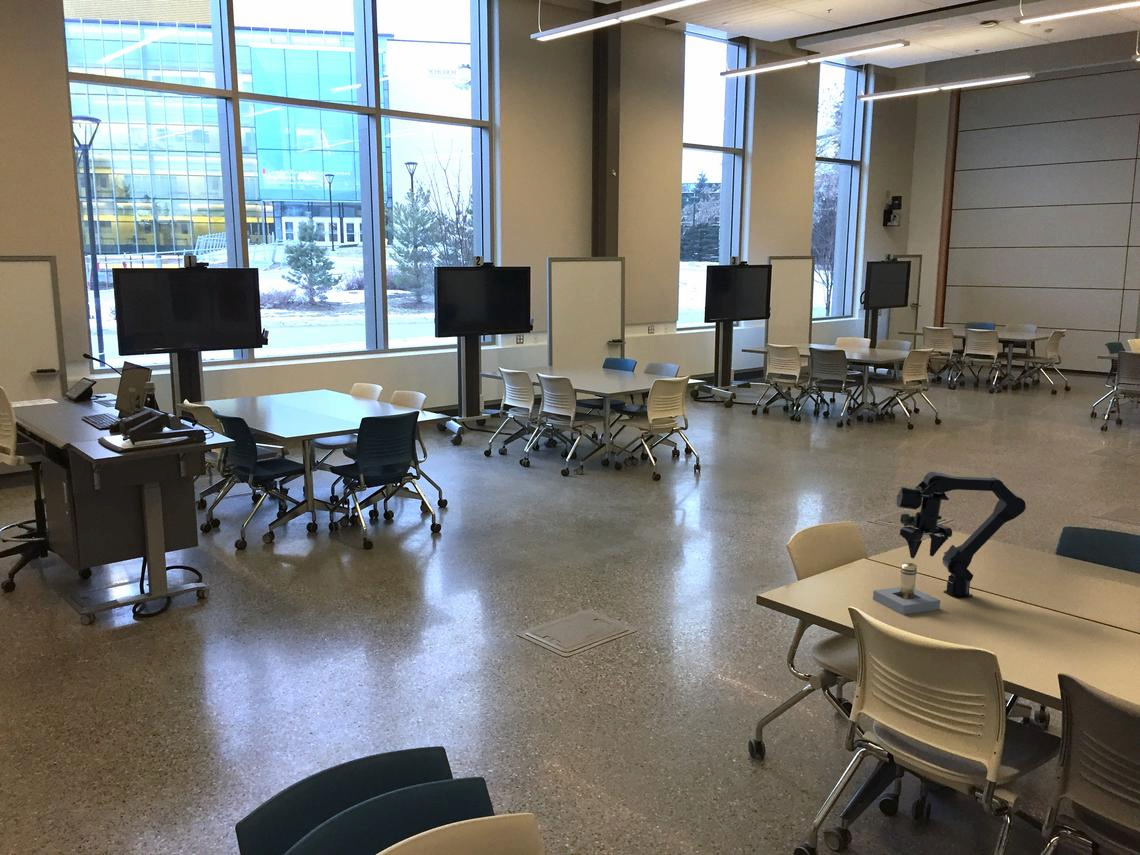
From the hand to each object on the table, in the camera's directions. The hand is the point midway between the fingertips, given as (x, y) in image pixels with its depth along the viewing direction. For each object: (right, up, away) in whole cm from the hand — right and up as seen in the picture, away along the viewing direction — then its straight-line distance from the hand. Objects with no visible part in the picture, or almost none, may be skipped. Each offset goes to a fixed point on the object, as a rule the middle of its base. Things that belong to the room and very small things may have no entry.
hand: (921, 557), depth 289 cm
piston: (-9, -14, -9) cm, 19 cm away
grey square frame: (-9, -14, -9) cm, 19 cm away
